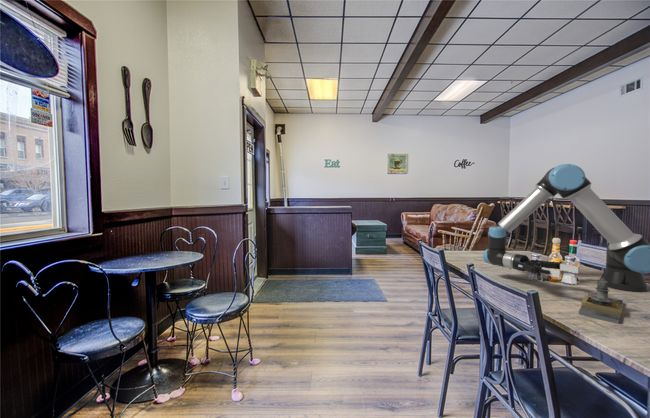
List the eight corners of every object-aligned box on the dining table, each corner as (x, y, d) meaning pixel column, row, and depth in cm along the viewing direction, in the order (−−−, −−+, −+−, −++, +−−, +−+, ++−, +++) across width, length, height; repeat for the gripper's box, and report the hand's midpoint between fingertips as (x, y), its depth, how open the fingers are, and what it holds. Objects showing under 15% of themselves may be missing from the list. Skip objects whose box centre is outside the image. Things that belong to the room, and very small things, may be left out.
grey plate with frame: (587, 296, 120) (587, 290, 120) (623, 303, 112) (623, 297, 112) (577, 314, 102) (578, 307, 102) (619, 323, 95) (619, 316, 95)
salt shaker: (614, 313, 103) (616, 280, 103) (593, 309, 106) (594, 277, 106) (609, 307, 108) (611, 276, 108) (589, 304, 111) (590, 274, 111)
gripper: (532, 266, 142) (585, 277, 122) (499, 272, 131) (551, 285, 112) (532, 251, 141) (586, 259, 122) (499, 256, 131) (551, 266, 112)
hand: (569, 272), depth 117 cm, fingers open, 13 cm apart
